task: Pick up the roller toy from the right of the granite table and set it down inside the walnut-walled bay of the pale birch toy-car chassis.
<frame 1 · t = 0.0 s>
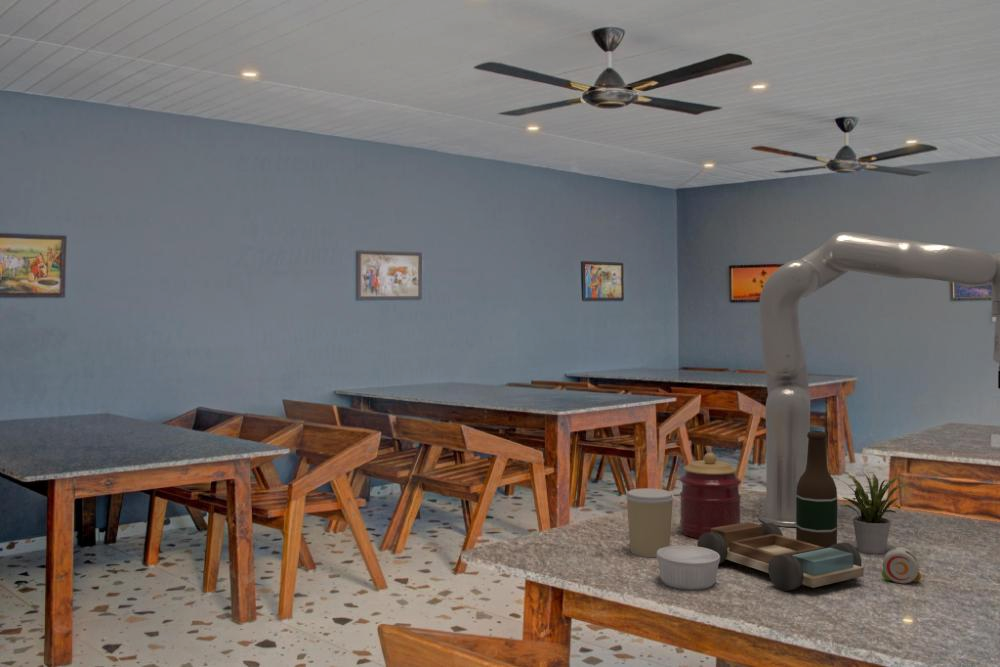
beer bottle: (816, 550, 179), on the table
ramekin: (687, 583, 158), on the table
coffee cup: (649, 553, 178), on the table
roller toy: (900, 582, 158), on the table
house plant: (878, 551, 178), on the table
chassis: (776, 570, 165), on the table
canister: (710, 534, 192), on the table
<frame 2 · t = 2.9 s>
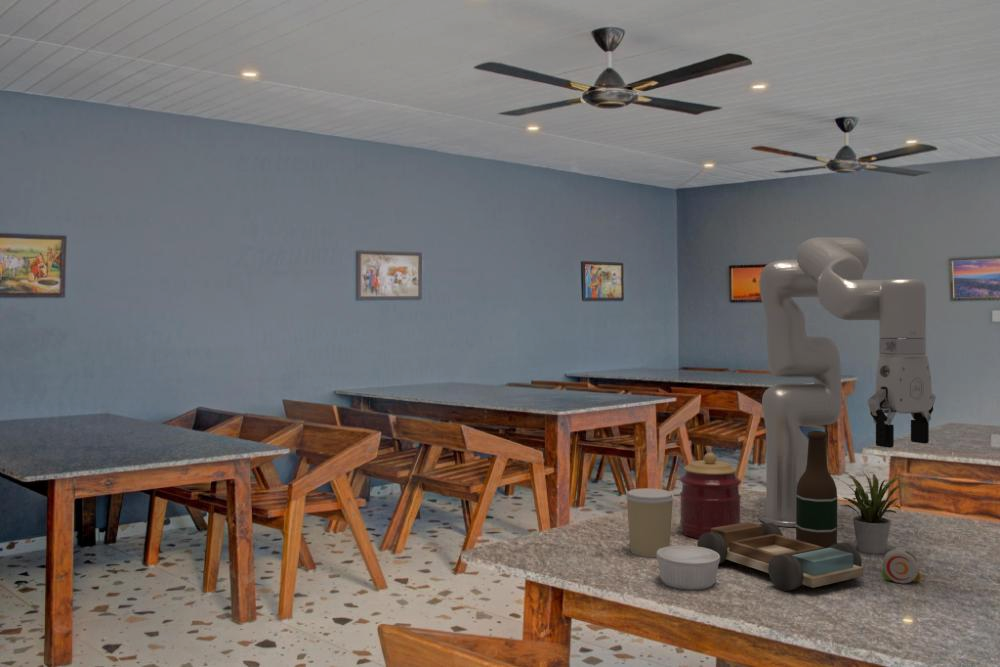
hand: (902, 444, 157), 24 cm above the table, tool pointing down, fingers open, 9 cm apart
nothing on the table moved.
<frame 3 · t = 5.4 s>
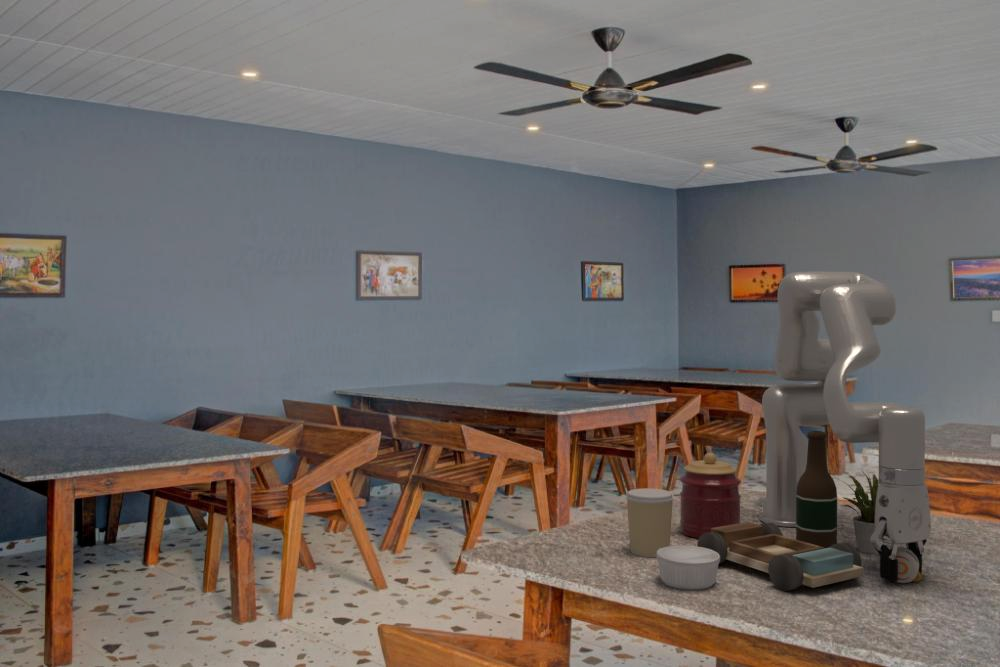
hand: (900, 576, 158), 1 cm above the table, tool pointing down, fingers closed on roller toy, 6 cm apart
roller toy: (900, 582, 158), on the table, touching gripper
everything else where it was.
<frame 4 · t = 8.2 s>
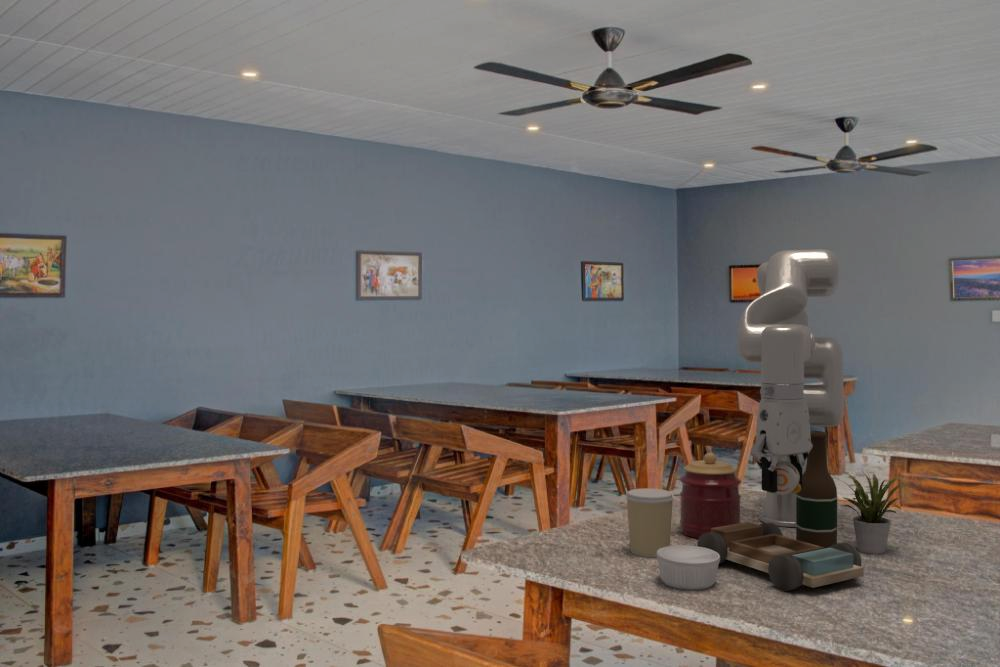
hand: (782, 488, 164), 15 cm above the table, tool pointing down, fingers closed on roller toy, 6 cm apart
roller toy: (782, 494, 164), point 14 cm above the table, touching gripper
everything else where it was.
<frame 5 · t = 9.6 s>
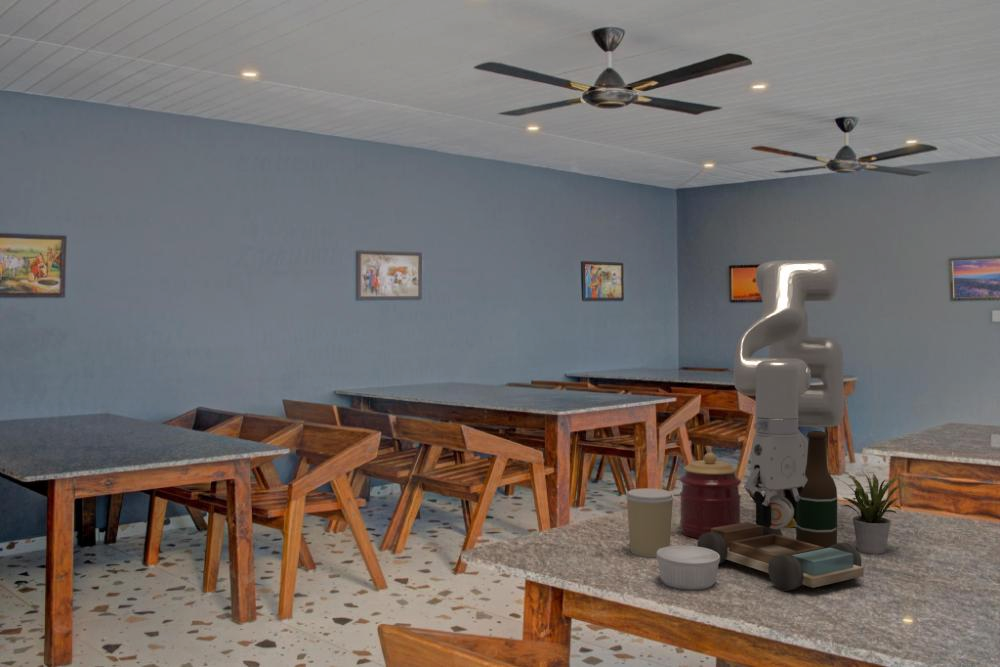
hand: (776, 522, 164), 9 cm above the table, tool pointing down, fingers closed on roller toy, 6 cm apart
roller toy: (776, 528, 164), point 8 cm above the table, touching gripper
everything else where it was.
when the fingers open (5 cm above the table, at t = 10.8 s): roller toy stays where it is, resting on chassis.
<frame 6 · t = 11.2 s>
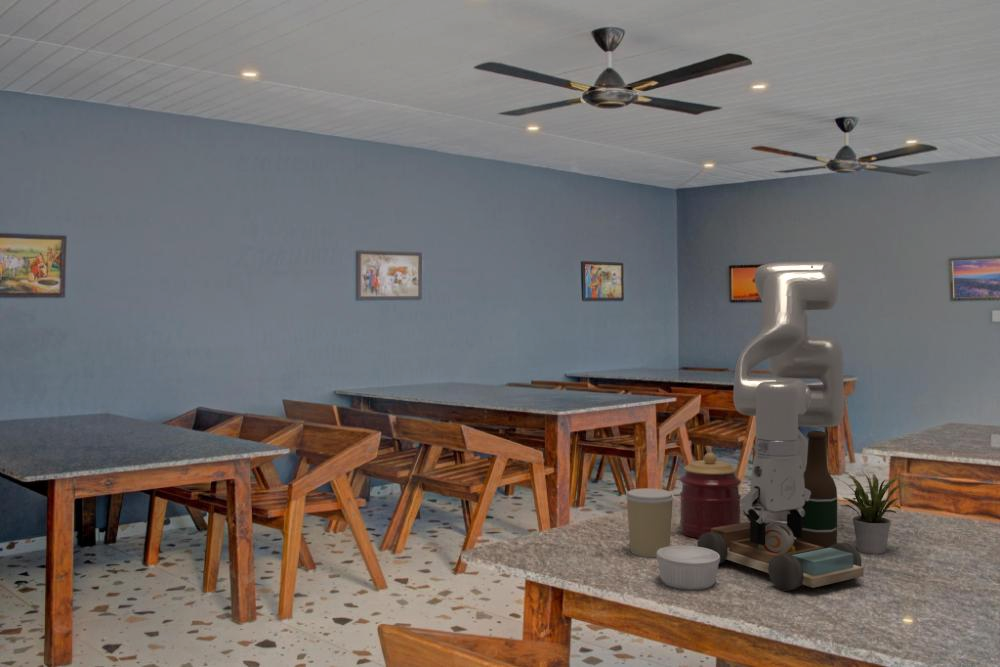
hand: (776, 539, 164), 6 cm above the table, tool pointing down, fingers open, 9 cm apart
roller toy: (776, 555, 164), point 3 cm above the table, touching chassis
everything else where it was.
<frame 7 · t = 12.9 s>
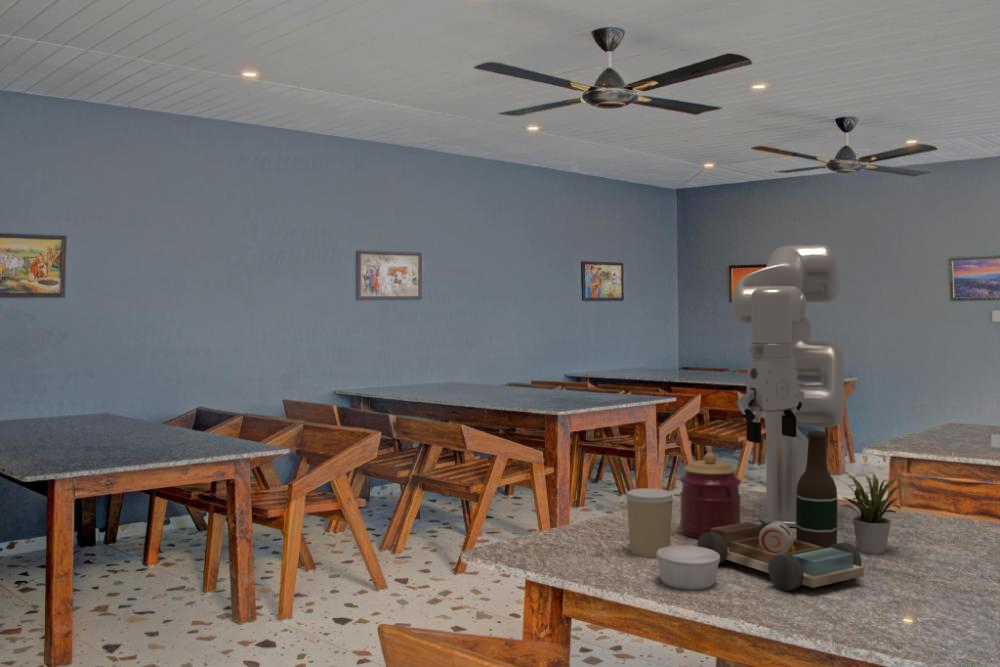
hand: (771, 439, 172), 23 cm above the table, tool pointing down, fingers open, 9 cm apart
nothing on the table moved.
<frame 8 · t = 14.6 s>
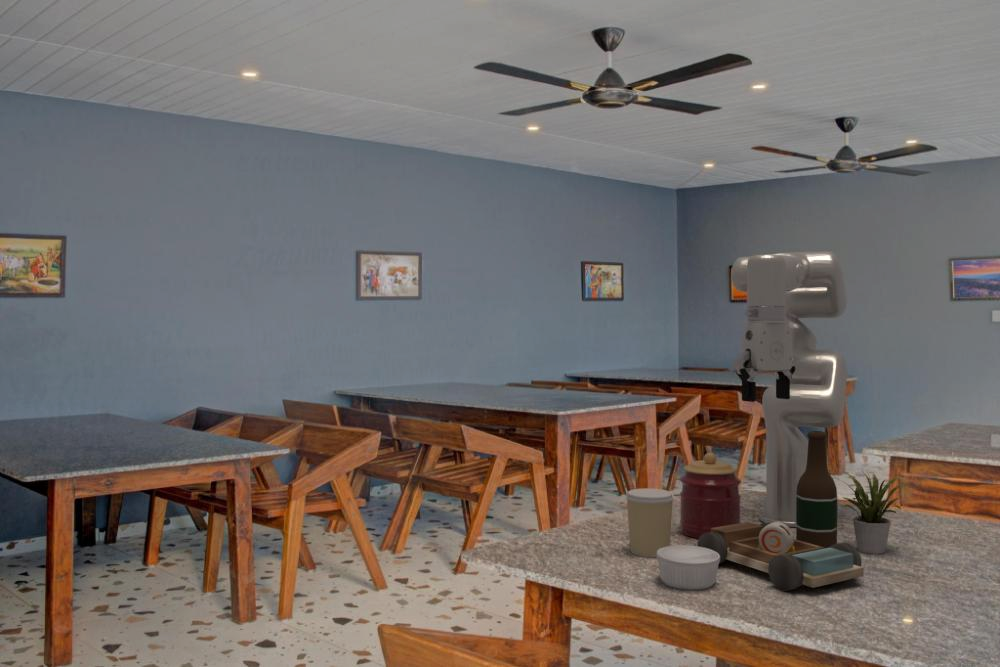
hand: (766, 400, 179), 30 cm above the table, tool pointing down, fingers open, 9 cm apart
nothing on the table moved.
at the end: roller toy inside the target area on the chassis (0.0 cm from its centre), point 2.8 cm above the chassis's base; the gripper is holding nothing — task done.
